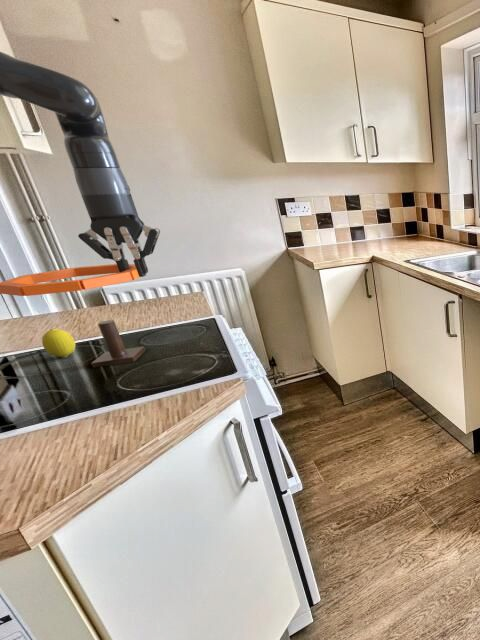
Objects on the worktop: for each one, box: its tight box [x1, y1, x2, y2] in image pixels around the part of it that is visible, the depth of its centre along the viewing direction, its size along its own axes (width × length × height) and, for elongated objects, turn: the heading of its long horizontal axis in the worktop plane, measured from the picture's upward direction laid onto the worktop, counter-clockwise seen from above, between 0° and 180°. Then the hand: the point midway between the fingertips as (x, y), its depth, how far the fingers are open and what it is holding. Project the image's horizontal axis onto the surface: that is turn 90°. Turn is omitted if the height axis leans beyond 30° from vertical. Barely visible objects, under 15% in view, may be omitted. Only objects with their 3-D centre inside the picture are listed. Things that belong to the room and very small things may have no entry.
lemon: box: [41, 328, 76, 359], centre depth 106 cm, size 6×6×8 cm
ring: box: [0, 263, 141, 297], centre depth 88 cm, size 21×21×2 cm
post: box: [90, 319, 146, 369], centre depth 104 cm, size 8×8×10 cm
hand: (136, 276), depth 91 cm, fingers closed on ring, 2 cm apart
